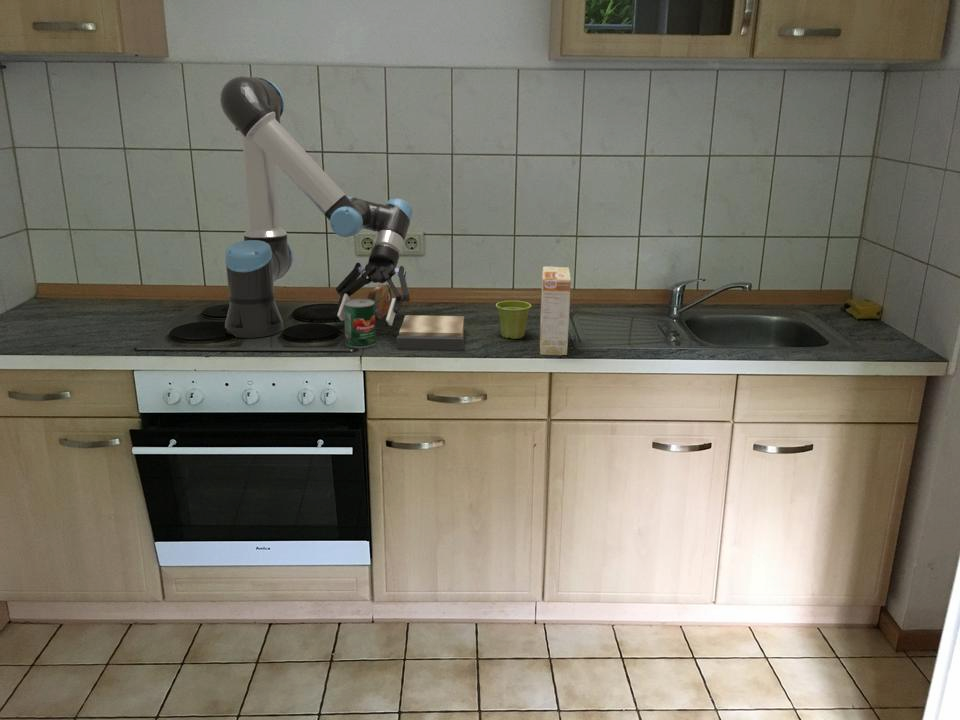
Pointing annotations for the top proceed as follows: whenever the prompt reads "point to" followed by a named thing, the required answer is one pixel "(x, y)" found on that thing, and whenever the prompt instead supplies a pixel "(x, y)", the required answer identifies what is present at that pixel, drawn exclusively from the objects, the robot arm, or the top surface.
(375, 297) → the orange brown packet
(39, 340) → the top surface
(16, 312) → the top surface
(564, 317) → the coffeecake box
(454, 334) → the block
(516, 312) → the plant pot
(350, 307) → the canned tomato
